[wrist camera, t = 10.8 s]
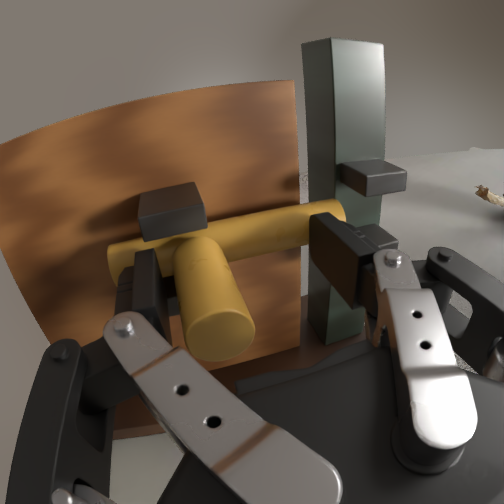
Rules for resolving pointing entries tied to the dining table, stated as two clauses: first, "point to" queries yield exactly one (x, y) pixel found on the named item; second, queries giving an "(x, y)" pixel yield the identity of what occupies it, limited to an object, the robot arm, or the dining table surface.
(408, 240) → the dining table surface
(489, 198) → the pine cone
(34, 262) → the door
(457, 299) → the dining table surface
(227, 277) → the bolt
